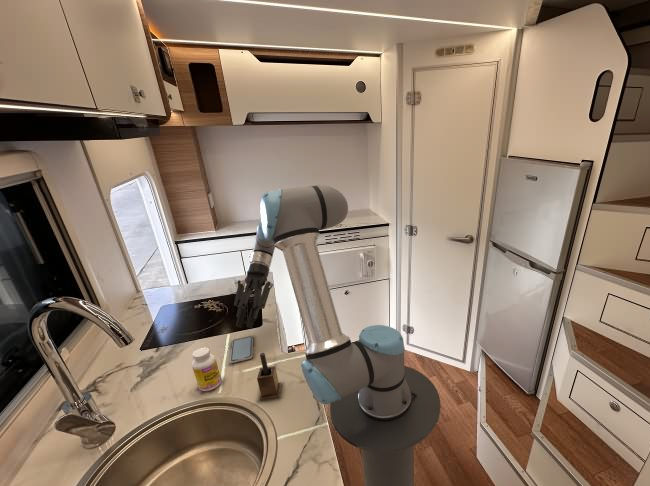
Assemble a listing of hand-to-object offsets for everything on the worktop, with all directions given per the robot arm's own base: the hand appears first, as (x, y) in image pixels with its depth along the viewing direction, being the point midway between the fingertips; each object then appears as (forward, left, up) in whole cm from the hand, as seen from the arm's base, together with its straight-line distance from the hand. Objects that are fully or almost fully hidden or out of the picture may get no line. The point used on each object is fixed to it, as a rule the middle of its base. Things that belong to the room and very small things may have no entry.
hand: (243, 326), depth 111 cm
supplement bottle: (+10, +13, -12) cm, 20 cm away
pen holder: (-10, +21, -12) cm, 27 cm away
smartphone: (+4, -4, -12) cm, 13 cm away
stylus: (-10, +21, -11) cm, 26 cm away
